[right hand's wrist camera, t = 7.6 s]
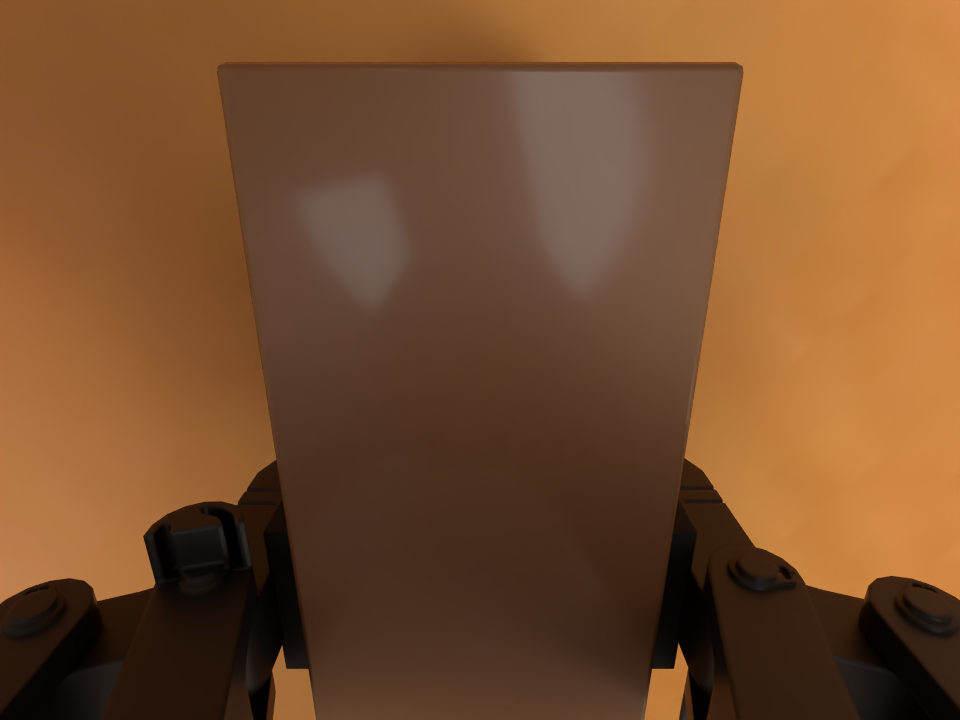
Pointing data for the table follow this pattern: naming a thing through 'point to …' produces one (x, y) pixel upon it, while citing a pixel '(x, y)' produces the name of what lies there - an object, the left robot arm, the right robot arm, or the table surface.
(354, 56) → the table surface
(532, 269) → the bar
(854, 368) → the table surface
